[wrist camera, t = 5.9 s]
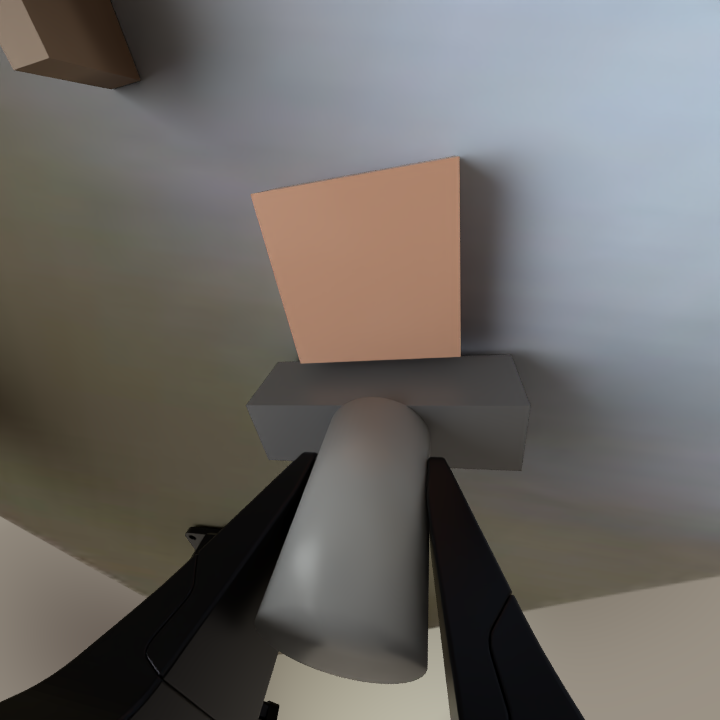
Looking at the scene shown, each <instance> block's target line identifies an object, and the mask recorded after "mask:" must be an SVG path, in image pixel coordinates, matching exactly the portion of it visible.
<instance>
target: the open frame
mask: <svg viewBox="0 0 720 720" xmlns="http://www.w3.org/2000/svg"><path fill="white" fill-rule="evenodd" d="M0 45H1V47H2V49H3V51H4V53H5V54H6V56H7V58H8V60H9V62H10V64H11V66H12V68H13V70H16V71H21V72H26V73H31V74H36V75H41V76H46V77H52V78H57V79H62V80H67V81H72V82H77V83H82V84H87V85H92V86H97V87H102V88H107V89H114V88H117V87H120V86H124V85H127V84H131V83H134V82H137V81H141V80H140V77H139V74H138V72H137V69H136V67H135V64H134V61H133V59H132V56H131V54H130V51H129V48H128V46H127V43H126V41H125V38H124V35H123V33H122V30H121V28H120V25H119V22H118V20H117V17H116V14H115V12H114V9H113V7H112V4H111V1H110V0H0Z"/></svg>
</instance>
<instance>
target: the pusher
mask: <svg viewBox="0 0 720 720" xmlns="http://www.w3.org/2000/svg"><path fill="white" fill-rule="evenodd" d="M246 407H247V409H248V411H249V414H250V416H251V419H252V421H253V423H254V426H255V428H256V431H257V433H258V435H259V438H260V440H261V442H262V445H263V447H264V450H265V452H266V454H267V457H268V459H269V460H287V461H294V460H295V459H296V458H297V457H298V456H299V455H300V454H302V453H303V452H316V453H318V456H317V459H316V461H315V464H314V466H313V469H312V472H311V474H310V477H309V479H308V482H307V485H306V487H305V490H304V493H303V495H302V498H301V500H300V503H299V506H298V508H297V511H296V513H295V516H294V519H293V521H292V524H291V527H290V529H289V532H288V534H287V537H286V540H285V542H284V545H283V547H282V550H281V553H280V555H279V558H278V561H277V563H276V566H275V568H274V571H273V574H272V576H271V579H270V581H269V584H268V587H267V589H266V592H265V595H264V597H263V600H262V602H261V605H260V608H259V610H258V613H257V615H256V618H255V626H256V629H257V631H258V633H259V634H260V635H261V636H262V638H263V639H264V640H265V641H266V642H267V643H269V644H270V645H271V646H272V647H274V648H275V649H277V650H278V651H280V652H281V653H283V654H285V655H286V656H288V657H290V658H292V659H294V660H296V661H298V662H300V663H302V664H304V665H307V666H309V667H312V668H314V669H317V670H320V671H323V672H326V673H329V674H332V675H336V676H339V677H343V678H348V679H352V680H357V681H362V682H369V683H380V684H399V683H407V682H411V681H414V680H417V679H419V678H420V677H422V676H423V675H424V674H425V673H426V671H427V665H428V664H427V663H428V662H427V661H428V585H429V520H428V508H427V475H428V458H429V457H443V458H445V460H446V461H447V463H448V465H449V467H450V468H465V469H487V470H509V471H521V470H522V463H523V456H524V449H525V442H526V435H527V428H528V421H529V414H530V407H531V405H530V403H529V400H528V398H527V395H526V392H525V390H524V387H523V384H522V382H521V379H520V377H519V374H518V371H517V369H516V366H515V363H514V361H513V358H512V356H511V354H508V355H478V356H461V357H443V358H420V359H396V360H373V361H349V362H325V363H302V364H301V363H300V361H296V362H278V363H277V364H276V365H275V367H274V368H273V369H272V371H271V372H270V373H269V375H268V376H267V378H266V379H265V380H264V382H263V383H262V384H261V386H260V387H259V388H258V390H257V391H256V392H255V394H254V395H253V396H252V398H251V399H250V401H249V402H248V403H247V405H246Z"/></svg>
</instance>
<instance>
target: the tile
mask: <svg viewBox="0 0 720 720" xmlns="http://www.w3.org/2000/svg"><path fill="white" fill-rule="evenodd" d="M251 197H252V201H253V204H254V208H255V211H256V214H257V218H258V221H259V224H260V228H261V231H262V235H263V238H264V241H265V245H266V248H267V251H268V255H269V258H270V262H271V265H272V268H273V272H274V275H275V279H276V282H277V285H278V289H279V292H280V295H281V299H282V302H283V306H284V309H285V312H286V316H287V319H288V322H289V326H290V329H291V333H292V336H293V339H294V343H295V346H296V349H297V353H298V356H299V360H300V363H301V364H302V363H325V362H349V361H373V360H396V359H420V358H443V357H461V324H460V167H459V156H451V157H446V158H440V159H435V160H429V161H424V162H418V163H413V164H407V165H402V166H396V167H391V168H385V169H380V170H375V171H369V172H364V173H358V174H353V175H347V176H342V177H336V178H331V179H325V180H320V181H314V182H309V183H303V184H298V185H292V186H287V187H281V188H276V189H271V190H267V191H263V192H258V193H254V194H251Z"/></svg>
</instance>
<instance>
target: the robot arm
mask: <svg viewBox="0 0 720 720" xmlns="http://www.w3.org/2000/svg"><path fill="white" fill-rule="evenodd" d="M317 456H318V453H316V452H303V453H302V454H300V455H299V456H298V457H297V458H296V459H295V460H294V461H293V462H292V463H291V464H290V465H289V466H288V467H287V468H286V469H285V470H284V471H283V472H282V473H280V474H279V475H278V476H277V477H276V478H275V479H274V480H273V481H272V482H271V483H270V484H269V485H268V486H267V487H266V488H265V489H264V490H263V491H262V492H260V493H259V494H258V495H257V496H256V497H255V498H254V499H253V500H252V501H251V502H250V503H249V504H248V505H247V506H246V507H245V508H244V509H243V510H242V511H240V512H239V513H238V514H237V515H236V516H235V517H234V518H233V519H232V520H231V521H230V522H229V523H228V524H227V525H226V526H225V527H224V528H223V529H222V530H219V529H209V528H199V527H190V528H189V529H188V531H187V532H186V534H185V536H186V538H187V539H188V540H189V542H190V543H191V545H192V546H193V547H194V549H195V552H194V553H193V555H192V557H191V558H190V560H189V561H188V562H187V563H186V564H185V565H183V566H182V567H181V568H180V569H179V570H178V571H177V572H176V573H175V574H174V575H173V576H172V577H170V578H169V579H168V580H167V581H166V582H165V583H164V584H163V585H162V586H161V587H159V588H158V589H157V590H156V591H155V592H154V593H152V594H151V595H150V596H149V597H148V598H147V599H145V600H144V601H143V602H142V603H141V604H140V605H138V606H137V607H136V608H135V609H134V610H133V611H132V612H130V613H129V614H128V615H127V616H125V617H124V618H123V619H122V620H120V621H119V622H118V623H117V624H116V625H114V626H113V627H112V628H111V629H110V630H108V631H107V632H106V633H105V634H104V635H102V636H101V637H100V638H99V639H98V640H96V641H95V642H94V643H93V644H92V645H90V646H89V647H88V648H87V649H86V650H84V651H83V652H82V653H81V654H79V655H78V656H77V657H76V658H75V659H73V660H72V661H71V662H69V663H68V664H67V665H66V666H64V667H63V668H61V669H60V670H59V671H57V672H56V673H54V674H53V675H51V676H50V677H48V678H47V679H45V680H43V681H42V682H40V683H38V684H37V685H35V686H33V687H31V688H29V689H27V690H25V691H23V692H21V693H19V694H17V695H15V696H13V697H10V698H8V699H6V700H4V701H2V702H0V720H277V716H278V711H279V705H278V704H276V703H273V702H271V701H268V702H265V701H264V698H265V695H266V691H267V688H268V685H269V681H270V678H271V675H272V671H273V668H274V665H275V662H276V658H277V655H278V652H279V651H278V650H277V649H275V648H274V647H272V646H271V645H270V644H269V643H267V642H266V641H265V640H264V639H263V638H262V636H261V635H260V634H259V633H258V631H257V629H256V626H255V618H256V615H257V613H258V610H259V608H260V605H261V602H262V600H263V597H264V595H265V592H266V589H267V587H268V584H269V581H270V579H271V576H272V574H273V571H274V568H275V566H276V563H277V561H278V558H279V555H280V553H281V550H282V547H283V545H284V542H285V540H286V537H287V534H288V532H289V529H290V527H291V524H292V521H293V519H294V516H295V513H296V511H297V508H298V506H299V503H300V500H301V498H302V495H303V493H304V490H305V487H306V485H307V482H308V479H309V477H310V474H311V472H312V469H313V466H314V464H315V461H316V459H317ZM427 508H428V520H429V535H430V548H431V558H432V567H433V575H434V583H435V592H436V600H437V608H438V617H439V625H440V633H441V641H442V650H443V658H444V667H445V674H446V683H447V691H448V699H449V708H450V717H451V720H585V719H584V718H583V716H582V714H581V713H580V711H579V709H578V708H577V706H576V705H575V703H574V701H573V700H572V698H571V697H570V695H569V693H568V692H567V690H566V689H565V687H564V685H563V684H562V682H561V680H560V678H559V677H558V675H557V674H556V672H555V670H554V668H553V667H552V665H551V663H550V662H549V660H548V658H547V657H546V655H545V653H544V651H543V650H542V648H541V646H540V644H539V642H538V640H537V639H536V637H535V635H534V633H533V631H532V629H531V628H530V625H529V624H528V622H527V620H526V618H525V616H524V614H523V612H522V610H521V608H520V606H519V604H518V602H517V600H516V598H515V596H514V595H512V591H511V589H510V587H509V585H508V583H507V581H506V579H505V577H504V575H503V573H502V571H501V569H500V567H499V565H498V563H497V561H496V559H495V557H494V555H493V553H492V551H491V549H490V547H489V545H488V543H487V541H486V539H485V537H484V535H483V533H482V531H481V529H480V527H479V525H478V523H477V521H476V519H475V517H474V515H473V513H472V511H471V509H470V507H469V505H468V503H467V501H466V499H465V497H464V495H463V493H462V491H461V489H460V487H459V485H458V483H457V481H456V479H455V477H454V475H453V473H452V471H451V469H450V467H449V465H448V463H447V461H446V460H445V458H443V457H429V458H428V475H427Z"/></svg>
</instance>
